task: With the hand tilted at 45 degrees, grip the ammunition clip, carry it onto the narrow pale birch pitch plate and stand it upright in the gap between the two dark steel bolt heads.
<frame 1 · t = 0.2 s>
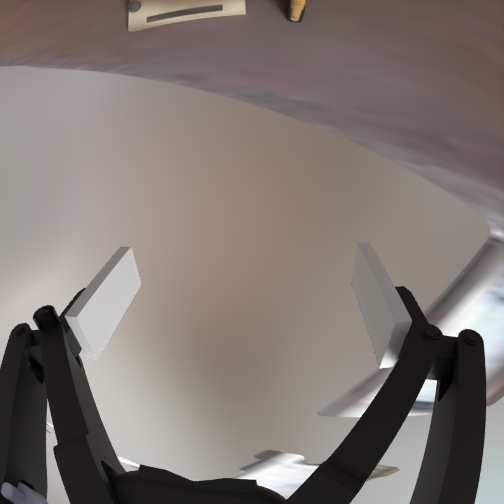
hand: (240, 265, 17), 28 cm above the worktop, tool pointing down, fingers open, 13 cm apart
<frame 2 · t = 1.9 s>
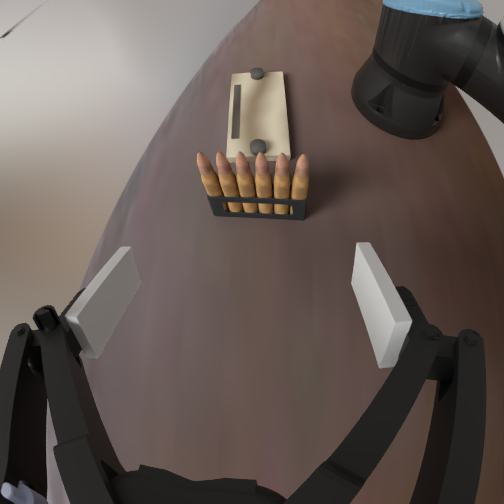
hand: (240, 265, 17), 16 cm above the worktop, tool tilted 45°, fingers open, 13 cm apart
ammunition clip: (259, 211, 35), on the worktop
pitch plate: (258, 113, 39), on the worktop
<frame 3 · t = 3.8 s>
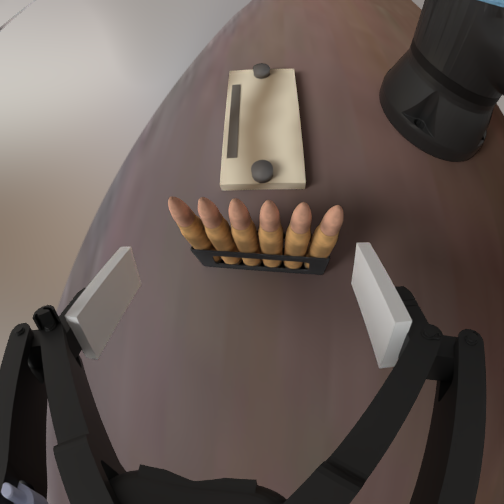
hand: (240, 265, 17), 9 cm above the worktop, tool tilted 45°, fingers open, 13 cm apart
ammunition clip: (263, 261, 27), on the worktop
pitch plate: (262, 123, 31), on the worktop
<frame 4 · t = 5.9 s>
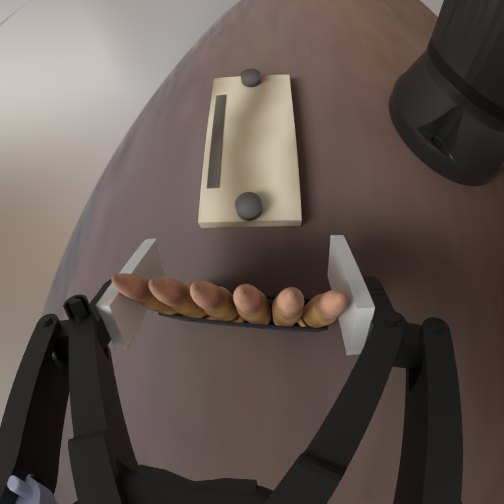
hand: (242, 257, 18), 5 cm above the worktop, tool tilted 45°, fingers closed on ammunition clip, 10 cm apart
ammunition clip: (249, 315, 22), on the worktop, touching gripper
pitch plate: (251, 141, 26), on the worktop
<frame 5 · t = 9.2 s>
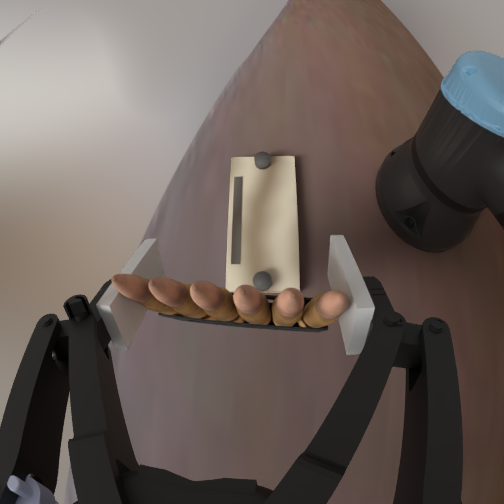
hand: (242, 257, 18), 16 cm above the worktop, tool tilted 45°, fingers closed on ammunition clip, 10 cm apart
ammunition clip: (249, 315, 22), point 11 cm above the worktop, touching gripper
pitch plate: (263, 221, 35), on the worktop
when the fingers open (8 cm above the worktop, at t = 12.6 s): ammunition clip stays where it is, resting on pitch plate.
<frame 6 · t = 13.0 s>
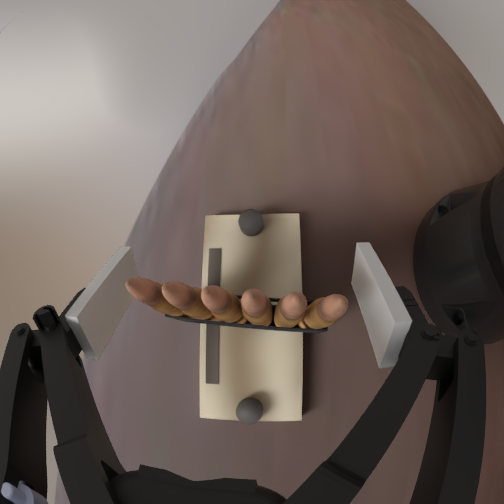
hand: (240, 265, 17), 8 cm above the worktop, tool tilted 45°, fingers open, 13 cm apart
ammunition clip: (251, 316, 23), point 1 cm above the worktop, touching pitch plate
pitch plate: (252, 317, 24), on the worktop
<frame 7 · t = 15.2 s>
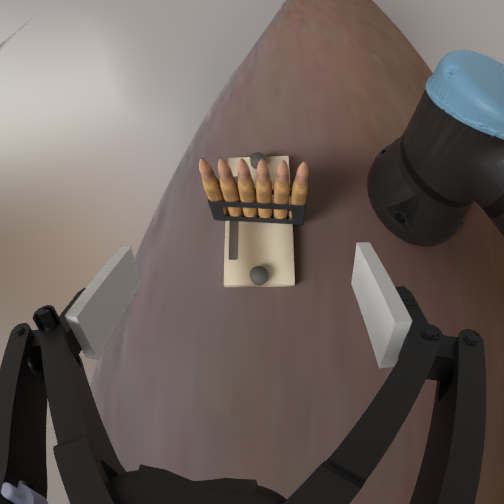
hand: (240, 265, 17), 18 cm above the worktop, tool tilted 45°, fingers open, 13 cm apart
ammunition clip: (258, 215, 36), point 1 cm above the worktop, touching pitch plate
pitch plate: (259, 218, 37), on the worktop
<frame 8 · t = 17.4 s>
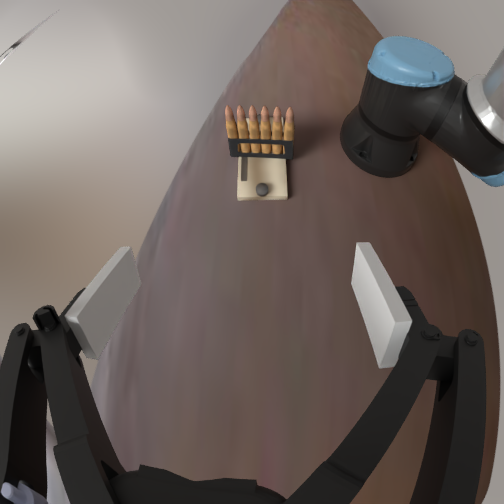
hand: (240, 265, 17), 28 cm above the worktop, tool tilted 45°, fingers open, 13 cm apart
ammunition clip: (261, 154, 50), point 1 cm above the worktop, touching pitch plate
pitch plate: (262, 157, 51), on the worktop
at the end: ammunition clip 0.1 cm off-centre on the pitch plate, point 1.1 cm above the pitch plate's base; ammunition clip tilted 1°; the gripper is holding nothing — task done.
